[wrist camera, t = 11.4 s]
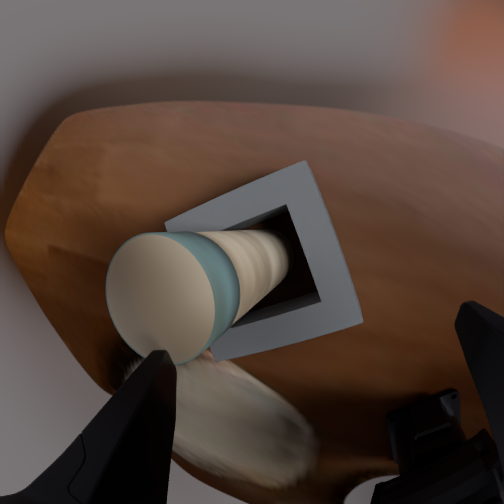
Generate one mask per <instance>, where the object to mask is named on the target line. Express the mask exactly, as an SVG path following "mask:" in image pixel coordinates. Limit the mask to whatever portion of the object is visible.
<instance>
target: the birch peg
mask: <svg viewBox="0 0 504 504" xmlns="http://www.w3.org/2000/svg"><path fill="white" fill-rule="evenodd" d="M294 259H295V256H294V250H293V247H292V244H291V243H290V241H289V240H288V239H287V238H286V237H285V236H284V235H283V234H282V233H280V232H278V231H275V230H271V229H260V230H234V231H210V232H189V231H179V232H156V233H144V234H139V235H137V236H134V237H132V238H130V239H129V240H127V241H126V242H125V243H124V244H122V245H121V246H120V248H119V249H118V250H117V251H116V253H115V254H114V256H113V258H112V260H111V262H110V265H109V268H108V271H107V276H106V301H107V306H108V310H109V313H110V316H111V319H112V321H113V323H114V325H115V327H116V329H117V331H118V332H119V334H120V335H121V337H122V338H123V339H124V341H125V342H126V343H127V344H128V345H129V346H130V347H131V348H132V349H133V350H134V351H135V352H137V353H138V354H139V355H141V356H142V357H144V358H146V357H147V356H148V355H149V354H150V352H151V351H153V350H161V349H165V350H167V351H168V353H169V355H170V357H171V359H172V361H173V363H174V365H179V364H183V363H186V362H188V361H191V360H193V359H194V358H196V357H197V356H198V355H200V354H201V353H202V352H203V351H204V350H205V349H207V348H208V347H209V346H210V345H211V344H212V343H214V342H215V341H216V340H217V339H218V338H219V337H221V336H222V335H223V334H224V333H225V332H226V331H227V330H228V329H229V328H230V326H231V325H232V324H234V323H235V322H236V321H237V320H238V319H239V318H240V317H242V316H243V315H244V314H245V313H246V312H247V311H249V310H250V309H251V308H252V307H253V306H254V305H255V304H257V303H258V302H259V301H260V300H261V299H262V298H263V297H264V296H266V295H267V294H268V293H269V292H270V291H271V290H272V289H274V288H275V287H276V286H277V285H278V284H279V283H280V282H281V281H282V280H284V279H285V278H286V277H287V276H288V275H289V273H290V272H291V270H292V268H293V265H294Z"/></svg>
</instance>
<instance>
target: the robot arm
mask: <svg viewBox="0 0 504 504" xmlns="http://www.w3.org/2000/svg"><path fill="white" fill-rule="evenodd" d="M455 330H456V333H457V335H458V338H459V341H460V344H461V347H462V350H463V353H464V356H465V359H466V362H467V365H468V368H469V370H470V373H471V375H472V378H473V380H474V383H475V385H476V388H477V390H478V393H479V395H480V398H481V401H482V403H483V406H484V409H485V412H486V415H487V418H488V421H489V424H490V427H491V430H492V433H493V436H494V439H495V442H494V441H493V440H492V438H491V437H490V435H489V434H488V432H487V431H486V430H485V428H484V429H482V430H481V431H479V432H478V434H477V435H475V436H474V437H472V438H470V439H469V440H467V439H466V436H465V434H464V432H463V430H462V428H461V422H460V397H459V392H458V390H456V389H453V390H450V391H448V392H445V393H443V394H440V395H438V396H434V397H432V398H429V399H427V400H424V401H421V402H418V403H416V404H413V405H410V406H408V407H405V408H402V409H399V410H396V411H392V412H390V413H388V414H387V415H386V422H387V427H388V432H389V437H390V442H391V448H392V453H393V459H394V463H395V464H398V466H399V475H400V476H398V477H396V478H393V479H391V480H389V481H386V482H380V483H378V484H376V485H375V489H374V493H373V496H372V499H371V503H370V504H504V317H502V316H501V315H499V314H497V313H495V312H493V311H492V310H490V309H488V308H486V307H484V306H482V305H481V304H479V303H477V302H475V301H467V302H464V303H462V304H461V306H460V309H459V312H458V315H457V317H456V320H455ZM176 383H177V371H176V367H175V365H174V363H173V361H172V359H171V357H170V355H169V353H168V351H167V350H165V349H161V350H153V351H151V352H150V354H149V355H148V356H147V357H146V358H145V359H144V360H143V362H142V363H141V364H140V365H139V366H138V367H137V368H136V370H135V371H134V372H133V373H132V374H131V375H130V376H129V378H128V379H127V380H126V381H125V382H124V383H123V384H122V386H121V387H120V388H119V389H118V390H117V391H116V393H115V394H114V395H113V396H112V397H111V398H110V400H109V401H108V402H107V403H106V404H105V405H104V406H103V408H102V409H101V410H100V411H99V412H98V413H97V415H96V416H95V417H94V418H93V419H92V420H91V421H90V423H89V424H88V425H87V426H86V427H85V429H84V430H83V431H82V434H79V435H78V436H77V438H76V439H75V440H74V441H73V442H72V443H71V445H70V446H69V447H68V448H67V449H66V450H65V451H64V452H63V453H62V454H61V455H60V456H59V457H58V458H57V459H56V460H55V461H54V462H53V463H52V464H51V465H50V466H49V467H48V468H47V469H46V470H45V471H44V472H43V473H42V474H41V475H39V476H38V477H37V478H36V479H35V480H34V481H33V482H32V483H31V484H30V485H29V486H27V487H26V488H25V489H23V490H22V491H19V492H17V493H15V494H11V495H6V496H0V504H167V493H168V482H169V473H170V463H171V455H172V447H173V438H174V430H175V422H176ZM453 394H455V395H454V396H453V397H451V396H452V395H453ZM390 417H394V418H392V419H390ZM495 443H496V444H495Z"/></svg>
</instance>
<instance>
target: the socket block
mask: <svg viewBox="0 0 504 504" xmlns="http://www.w3.org/2000/svg"><path fill="white" fill-rule="evenodd" d="M288 211H289V212H290V215H291V218H292V220H293V223H294V226H295V228H296V231H297V234H298V237H299V239H300V242H301V245H302V248H303V250H304V253H305V256H306V259H307V262H308V264H309V267H310V270H311V273H312V276H313V279H314V281H315V284H316V287H317V290H318V291H315V292H312V293H309V294H306V295H303V296H300V297H297V298H294V299H291V300H287V301H284V302H281V303H278V304H275V305H271V306H268V307H265V308H262V309H258V310H255V311H252V312H249V311H247V312H246V313H245V314H244V315H243V316H242V317H240V318H239V319H238V320H237V321H236V322H235V323H234V324H232V325H231V326H230V328H229V329H228V330H227V331H226V332H225V333H224V334H223V335H222V336H221V337H219V338H218V339H217V340H216V341H215V342H214V343H212V344H211V345H210V346H209V347H210V349H211V352H212V354H213V357H214V359H215V361H216V362H218V361H222V360H227V359H232V358H236V357H241V356H245V355H250V354H254V353H258V352H262V351H266V350H270V349H274V348H278V347H282V346H286V345H290V344H293V343H297V342H301V341H304V340H308V339H311V338H315V337H318V336H322V335H325V334H328V333H332V332H335V331H338V330H341V329H345V328H348V327H351V326H354V325H357V324H360V323H363V317H362V312H361V308H360V304H359V300H358V297H357V294H356V291H355V288H354V285H353V281H352V278H351V275H350V272H349V269H348V266H347V263H346V260H345V257H344V254H343V252H342V249H341V246H340V243H339V240H338V237H337V235H336V232H335V229H334V226H333V224H332V221H331V218H330V216H329V213H328V210H327V208H326V205H325V203H324V200H323V197H322V195H321V192H320V190H319V187H318V185H317V182H316V180H315V178H314V175H313V173H312V171H311V169H310V167H309V165H308V163H307V162H306V160H304V161H301V162H299V163H296V164H294V165H291V166H289V167H286V168H284V169H281V170H279V171H277V172H274V173H272V174H269V175H267V176H265V177H262V178H260V179H258V180H255V181H253V182H251V183H248V184H246V185H244V186H242V187H239V188H237V189H235V190H233V191H230V192H228V193H226V194H224V195H221V196H219V197H217V198H215V199H213V200H210V201H208V202H206V203H204V204H202V205H200V206H198V207H195V208H193V209H191V210H189V211H187V212H185V213H183V214H181V215H179V216H177V217H175V218H173V219H170V220H168V221H166V222H164V223H165V226H166V230H167V232H179V231H189V232H210V231H234V230H242V229H245V228H247V227H250V226H252V225H255V224H257V223H260V222H262V221H265V220H267V219H270V218H272V217H275V216H278V215H280V214H283V213H285V212H288Z"/></svg>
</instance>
